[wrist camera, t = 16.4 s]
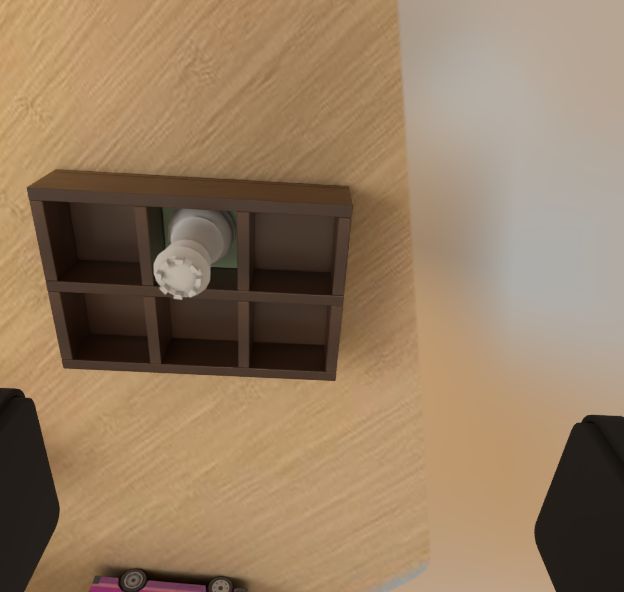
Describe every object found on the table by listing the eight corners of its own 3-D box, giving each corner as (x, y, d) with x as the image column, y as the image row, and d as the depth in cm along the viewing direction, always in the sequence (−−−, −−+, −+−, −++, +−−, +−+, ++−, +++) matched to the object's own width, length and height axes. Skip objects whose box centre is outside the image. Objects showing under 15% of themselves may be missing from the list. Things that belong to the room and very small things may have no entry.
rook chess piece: (226, 265, 38) (207, 323, 31) (165, 245, 37) (130, 301, 30) (244, 208, 36) (227, 257, 29) (179, 187, 35) (146, 231, 28)
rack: (55, 169, 35) (26, 187, 32) (348, 186, 36) (352, 205, 32) (84, 337, 42) (63, 368, 38) (333, 349, 42) (335, 381, 39)
